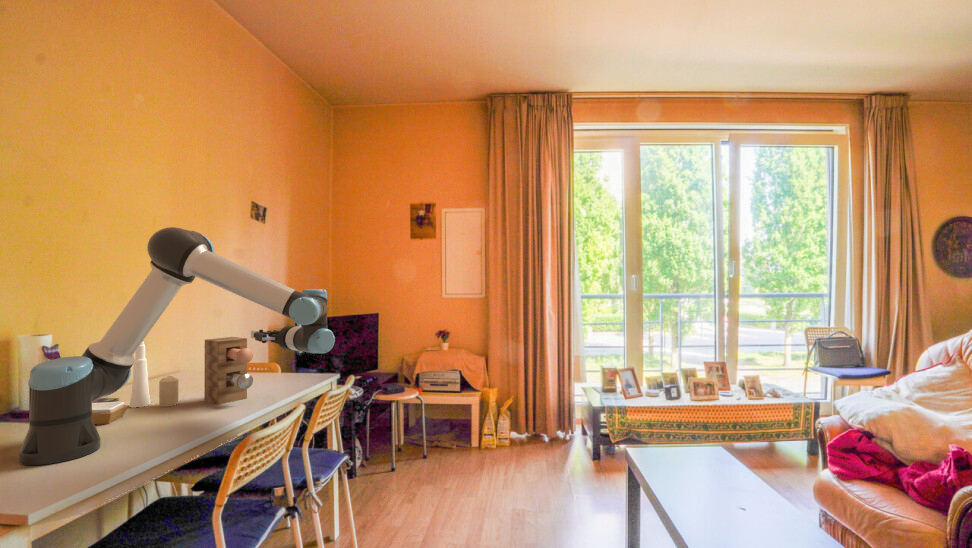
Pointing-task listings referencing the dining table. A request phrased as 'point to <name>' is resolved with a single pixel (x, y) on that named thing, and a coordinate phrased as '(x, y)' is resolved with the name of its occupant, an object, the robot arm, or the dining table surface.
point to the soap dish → (107, 412)
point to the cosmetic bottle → (140, 380)
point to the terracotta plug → (239, 354)
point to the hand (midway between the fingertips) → (253, 333)
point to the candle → (168, 391)
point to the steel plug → (239, 380)
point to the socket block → (223, 370)
